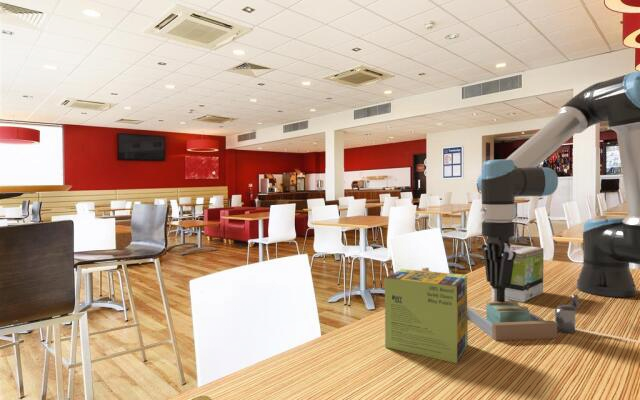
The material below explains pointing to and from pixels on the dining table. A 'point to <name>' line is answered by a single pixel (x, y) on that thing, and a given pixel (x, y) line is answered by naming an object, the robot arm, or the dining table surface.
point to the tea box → (526, 273)
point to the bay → (515, 327)
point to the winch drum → (566, 316)
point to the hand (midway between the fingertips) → (498, 312)
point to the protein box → (426, 313)
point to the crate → (506, 312)
